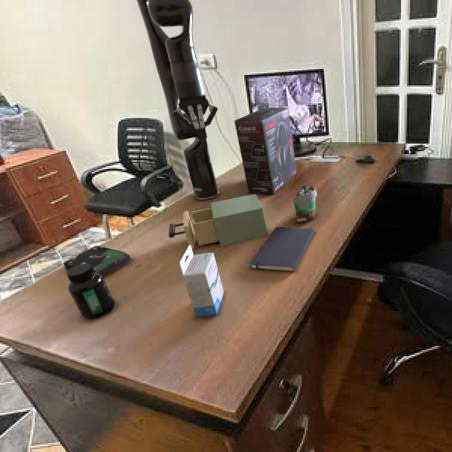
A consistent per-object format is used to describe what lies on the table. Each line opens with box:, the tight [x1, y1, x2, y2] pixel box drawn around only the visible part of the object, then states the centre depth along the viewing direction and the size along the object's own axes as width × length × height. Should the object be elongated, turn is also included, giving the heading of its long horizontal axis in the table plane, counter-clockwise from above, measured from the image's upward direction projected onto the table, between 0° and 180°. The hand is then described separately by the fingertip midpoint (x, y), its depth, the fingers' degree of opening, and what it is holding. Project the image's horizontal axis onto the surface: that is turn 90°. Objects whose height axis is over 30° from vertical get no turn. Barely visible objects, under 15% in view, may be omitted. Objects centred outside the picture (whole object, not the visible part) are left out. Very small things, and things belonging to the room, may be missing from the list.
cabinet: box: [210, 193, 268, 247], centre depth 112 cm, size 15×13×10 cm
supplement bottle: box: [66, 264, 116, 321], centre depth 81 cm, size 7×7×12 cm
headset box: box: [233, 101, 297, 195], centre depth 144 cm, size 25×12×33 cm, turn 162°
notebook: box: [249, 226, 315, 273], centre depth 103 cm, size 13×2×21 cm
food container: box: [292, 183, 318, 224], centre depth 118 cm, size 12×6×10 cm, turn 168°
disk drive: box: [63, 245, 132, 278], centre depth 101 cm, size 10×3×15 cm
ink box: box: [178, 244, 225, 318], centre depth 79 cm, size 9×5×15 cm, turn 5°
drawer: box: [168, 207, 219, 250], centre depth 109 cm, size 18×11×8 cm, turn 111°
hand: (203, 140), depth 106 cm, fingers closed
